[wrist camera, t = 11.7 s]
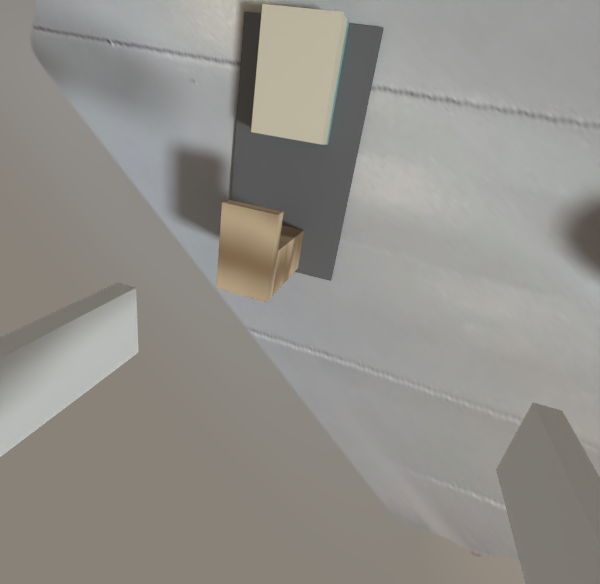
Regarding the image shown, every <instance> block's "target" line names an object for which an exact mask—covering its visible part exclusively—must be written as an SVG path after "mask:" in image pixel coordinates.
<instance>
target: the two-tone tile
mask: <svg viewBox="0 0 600 584" xmlns="http://www.w3.org/2000/svg"><path fill="white" fill-rule="evenodd" d="M348 26H349V22H348V20H347V18H346V16H345V15H344V13H343V12H338V11H328V10H319V9H309V8H299V7H289V6H280V5H270V4H262V14H261V25H260V36H259V48H258V59H257V70H256V81H255V93H254V104H253V115H252V127H251V132H253V133H259V134H265V135H270V136H276V137H282V138H287V139H293V140H298V141H304V142H310V143H315V144H321V145H328V142H329V136H330V130H331V125H332V119H333V113H334V107H335V101H336V96H337V90H338V84H339V78H340V72H341V67H342V61H343V55H344V49H345V43H346V38H347V32H348Z"/></svg>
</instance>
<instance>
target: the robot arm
mask: <svg viewBox="0 0 600 584" xmlns="http://www.w3.org/2000/svg"><path fill="white" fill-rule="evenodd" d="M136 305H137V303H136V288H135V287H131V286H128V285H124V284H121V283H115V284H113V285H111V286H109V287H107V288H105V289H103V290H101V291H98V292H96V293H94V294H92V295H90V296H88V297H85V298H83V299H81V300H79V301H77V302H75V303H73V304H71V305H68V306H66V307H64V308H62V309H60V310H58V311H56V312H53V313H51V314H49V315H47V316H45V317H43V318H41V319H38V320H36V321H34V322H32V323H30V324H28V325H26V326H23V327H21V328H19V329H17V330H15V331H13V332H11V333H9V334H6V335H4V336H2V337H0V457H1V456H2V455H3V454H5V453H6V452H7V451H8V450H10V449H11V448H12V447H14V446H15V445H17V444H18V443H19V442H21V441H22V440H23V439H24V438H26V437H27V436H28V435H30V434H31V433H32V432H34V431H35V430H36V429H38V428H39V427H40V426H42V425H43V424H44V423H46V422H47V421H48V420H49V419H51V418H52V417H53V416H55V415H56V414H57V413H59V412H60V411H61V410H63V409H64V408H65V407H67V406H68V405H69V404H71V403H72V402H73V401H75V400H76V399H77V398H79V397H80V396H81V395H83V394H84V393H85V392H87V391H88V390H89V389H90V388H92V387H93V386H94V385H96V384H97V383H98V382H100V381H101V380H102V379H104V378H105V377H106V376H108V375H109V374H110V373H111V372H113V371H114V370H116V369H117V368H118V367H120V366H121V365H122V364H123V363H125V362H126V361H127V360H129V359H130V358H131V357H133V356H134V355H135V354H137V353H138V328H137V306H136ZM496 470H497V474H498V478H499V482H500V486H501V490H502V494H503V497H504V501H505V505H506V509H507V513H508V517H509V521H510V524H511V528H512V532H513V536H514V540H515V544H516V548H517V551H518V555H519V559H520V563H521V567H522V571H523V574H524V578H525V582H526V584H600V477H599V475H598V474H597V472H596V470H595V468H594V466H593V465H592V463H591V461H590V459H589V458H588V456H587V454H586V452H585V450H584V449H583V447H582V445H581V443H580V442H579V440H578V438H577V436H576V435H575V433H574V431H573V429H572V427H571V426H570V424H569V422H568V420H567V419H566V417H565V415H564V413H563V411H561V410H557V409H554V408H550V407H547V406H544V405H540V404H537V403H532V405H531V407H530V409H529V411H528V412H527V414H526V416H525V418H524V420H523V422H522V423H521V425H520V427H519V429H518V431H517V433H516V434H515V436H514V438H513V440H512V442H511V444H510V445H509V447H508V449H507V451H506V453H505V455H504V456H503V458H502V460H501V462H500V464H499V466H498V467H497V469H496Z"/></svg>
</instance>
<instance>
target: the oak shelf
mask: <svg viewBox="0 0 600 584" xmlns="http://www.w3.org/2000/svg"><path fill="white" fill-rule="evenodd" d="M283 213H284V212H282V211H278V210H273V209H269V208H264V207H260V206H255V205H251V204H246V203H242V202H237V201H233V200H228V201H225V202H222V211H221V226H220V242H219V257H218V273H217V289H221V290H224V291H228V292H232V293H235V294H239V295H243V296H246V297H250V298H253V299H257V300H261V301H264V302H267V301H268V300H269V299H270V298H271V297H272V296H273V295H274V293H275V292H276V291H277V290H278V289H279V288H280V287H281V286H282V285H283V284H284V283H285V282H286V281H287V279H288V278H289V277H290V276H291V275H292V274H293V273H294V272H295V271H296V270H297V269H298V265H299V259H300V253H301V246H302V240H303V234H304V230H300V229H296V228H292V227H287V226H283V225H282V221H283Z"/></svg>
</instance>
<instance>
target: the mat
mask: <svg viewBox="0 0 600 584" xmlns="http://www.w3.org/2000/svg"><path fill="white" fill-rule="evenodd" d="M260 25H261V14H258V13H249V12H245V13H244V26H243V40H242V53H241V67H240V80H239V94H238V107H237V121H236V135H235V148H234V162H233V175H232V189H231V200H233V201H237V202H242V203H246V204H251V205H255V206H260V207H264V208H269V209H273V210H278V211H282V212H284V213H283V221H282V225H283V226H287V227H292V228H296V229H300V230H304V234H303V240H302V246H301V253H300V259H299V265H298V269H297V270H296V271H295V272H299V273H303V274H307V275H310V276H314V277H318V278H322V279H326V280H330V281H331V278H332V274H333V269H334V264H335V259H336V254H337V250H338V245H339V240H340V235H341V230H342V226H343V221H344V216H345V211H346V206H347V201H348V197H349V192H350V187H351V182H352V177H353V173H354V168H355V163H356V158H357V153H358V148H359V144H360V139H361V134H362V129H363V124H364V120H365V115H366V110H367V105H368V100H369V96H370V91H371V86H372V81H373V76H374V71H375V67H376V62H377V57H378V52H379V47H380V43H381V38H382V33H383V27H376V26H367V25H358V24H349V26H348V32H347V38H346V43H345V49H344V55H343V61H342V67H341V72H340V78H339V84H338V90H337V96H336V101H335V107H334V113H333V119H332V125H331V130H330V136H329V142H328V145H321V144H315V143H310V142H304V141H298V140H293V139H287V138H282V137H276V136H270V135H265V134H259V133H253V132H251V127H252V115H253V104H254V93H255V81H256V70H257V59H258V48H259V36H260Z"/></svg>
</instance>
